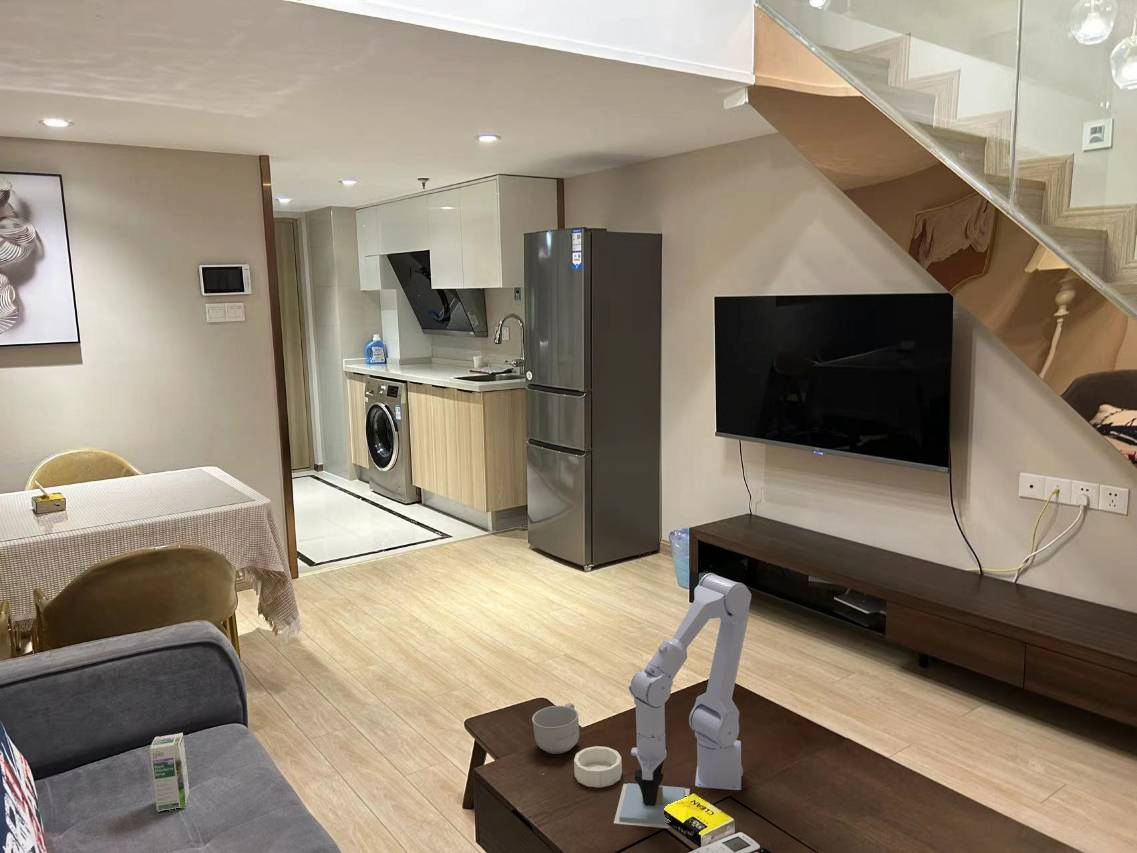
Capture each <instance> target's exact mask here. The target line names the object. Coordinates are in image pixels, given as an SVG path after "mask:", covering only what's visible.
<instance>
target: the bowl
mask: <svg viewBox="0 0 1137 853" xmlns="http://www.w3.org/2000/svg"><path fill="white" fill-rule="evenodd" d="M573 766H574V768H573V770H574V777H575V779H576V781H577V782H578V783H579V784H582V785H584V786H586V787H588V788H591V787H593V788H604V787H608V786H613V785H614V784H616V783H617V782H618V781H620V780H621V777H622V774H623V765H622V755H620V753H619V752H618V751H617V750H615V749H613V748H612V747H611V748H610V747H608V746H598V745H595V746H590V747H586V748H584V749H581V750H580V751H578V752H576V753H575V756H574V759H573Z"/></svg>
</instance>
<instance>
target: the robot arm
mask: <svg viewBox="0 0 1137 853" xmlns="http://www.w3.org/2000/svg"><path fill="white" fill-rule="evenodd" d="M693 594H694V596H693V597H694V600H693V602H692V604H691V605H690V607H689V609H688V611H687V613H686V614H685V616H684V618H683V620H682V621H681V622H680V624H679V626H678V628H677V630H676V631H675V634H674V635H673V637H672V638H669V639H665V640H663V642H662V643H661V644H660V645H659V646H658V648H657V650H656V652H655V653H654V654H653V656H652V658H651V659H650V660H649V662H648V664H646V666H645V668H644V669H642V670H640V671H637V672H636V673H635V674H634V675H633V676H632V678H631V681H630V685H629V686H628V691H629V693H630V695H631V696H632V697H633V704H634V705H635V721H636V722H635V724H636V725H635V726H636V747H632V748H631V751H630V755H631V756H633V757H634V756H635V757H636V758H637V761H638V762H639V766H640V767H641V769H635V770H634V773H633V774H634V776H633V777H634V780H635V782H636V784H638V785H639V787H640V789H641V793H642V797H643V801H644V804H645V805H647V806H655V805H656V800H657V793H658V788H659V786H661V783H662V782H663V779H664V774H665V773H662V771H663V765H664V761H665V759H666V758H667V756H668V751H669V748H668V747H667V746H666V725H665V724H666V718H665V716H666V714H665V703H666V702H667V701H668V700H669V699H670V696H671V692H672V686H673V684H674V681H673V680H674V678H675V677H676V676H677V674H678V673H679V671H680V669H681V668H682V667H683V665H684V664H685V663H686V661H687V659H688V652H687V651H688V650H687V649H688V647H689V646H690V645H691V643H692V642H694V639H695V638H696V637H697V636H698V635H699V633H700V631H702V629H703V628H704V627H705V625H706V624H707V623H708V622H709V621H710V620H711V619H717V618H718V619H719V620H720V624H719V628H718V633H717V637H716V638H717V639H716V642H715V643H716V644H715V648H714V652H713V657H712V663H711V666H710V671H709V678H708V682H707V688H706V691H705V692H704V693H703V694H701V695H698V696H697V697H696V699H695V703H694V706H693V708H692V710H691V711H690V714H689V717H688V724H689V726H690V728H691V730H692V731H694V737H695V738H696V746H697V748H696V749H697V750H696V751H697V766H696V772H695V773H696V774H695V781H694V782H695V783H694V787H696V788H705V789H706V788H707V789H719V790H732V791H740V790H742V777H743V775H744V771H743V770H744V768H743V766H742V741H741V740H737V739H738V736H739V733H740V723H739V722H740V721H739V720H740V711H739V709H738V707H737V705H736V704H735V702H734V701H733V694H734V689H735V685H736V680H737V676H738V675H737V674H738V670H739V665H740V660H741V655H742V651H743V646H744V641H745V636H746V632H747V626H748V621H749V610H750V606H751V605H750V604H751V601H752V600H751V599H752V593H751V591H750V590H749V589H748V587H747V585H745V584H744V583H742V582H737V581H733V580H731V579H729V578H725V577H723V576H719V575H717V574H715V573H713V572H709V573H708V572H707V573H706V574H705V575H704V576H702V577H701V579H700V581H699V582H698V584H697V586H695V588H694V591H693Z"/></svg>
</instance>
